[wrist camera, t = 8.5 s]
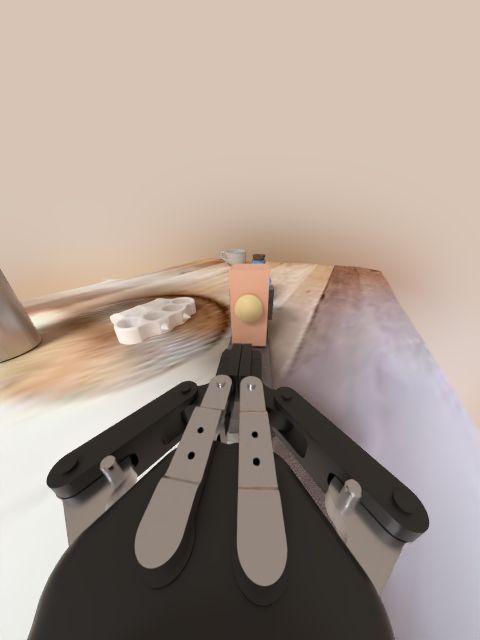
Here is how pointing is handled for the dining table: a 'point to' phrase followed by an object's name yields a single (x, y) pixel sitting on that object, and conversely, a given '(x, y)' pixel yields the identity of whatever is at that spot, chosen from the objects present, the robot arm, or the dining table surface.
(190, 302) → the white brass knuckles
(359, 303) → the dining table surface
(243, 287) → the carriage
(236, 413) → the rail
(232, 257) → the teacup
